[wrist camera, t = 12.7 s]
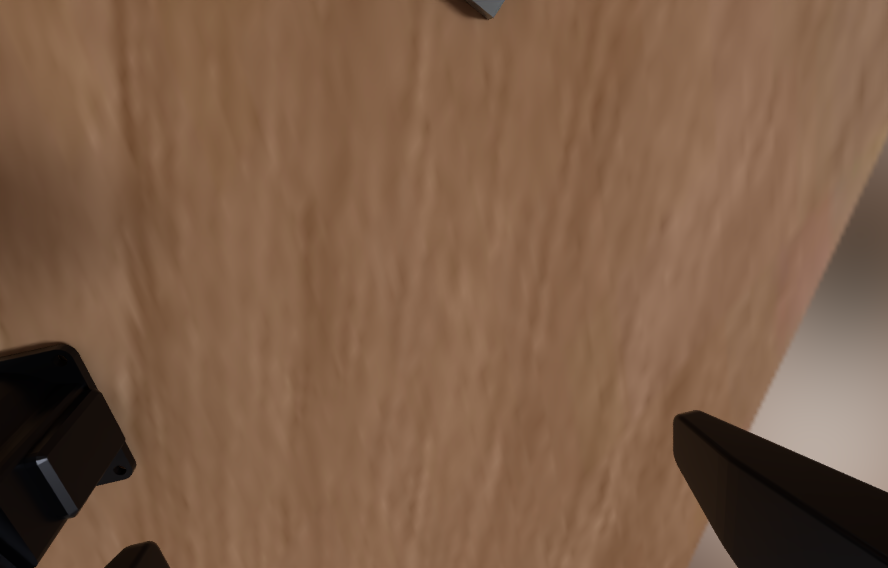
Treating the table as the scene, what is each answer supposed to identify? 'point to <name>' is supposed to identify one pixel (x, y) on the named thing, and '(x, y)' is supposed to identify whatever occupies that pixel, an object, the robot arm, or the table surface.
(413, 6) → the table surface
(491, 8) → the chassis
